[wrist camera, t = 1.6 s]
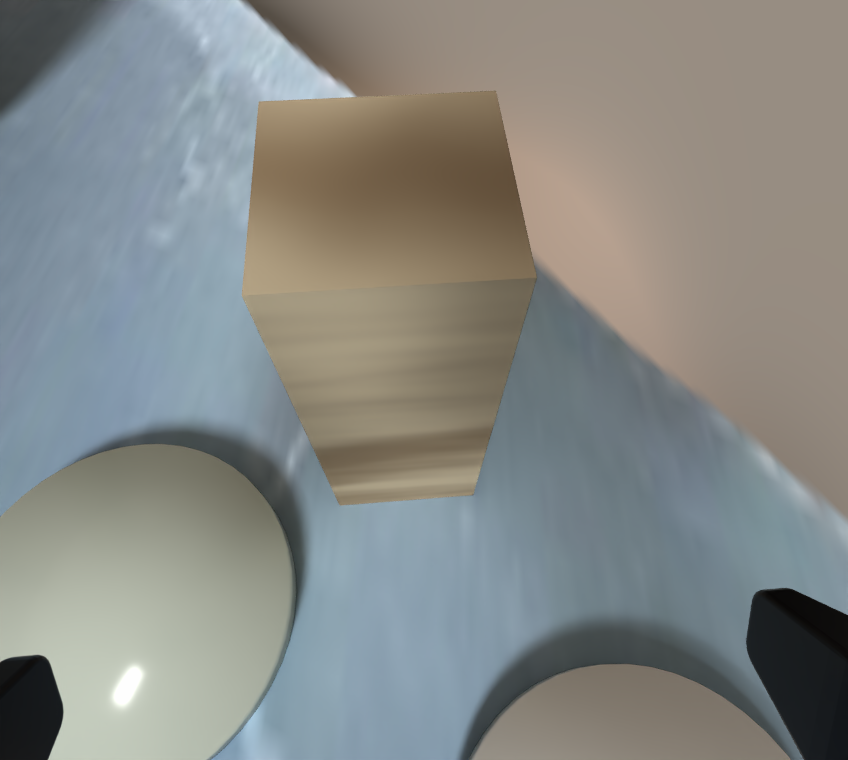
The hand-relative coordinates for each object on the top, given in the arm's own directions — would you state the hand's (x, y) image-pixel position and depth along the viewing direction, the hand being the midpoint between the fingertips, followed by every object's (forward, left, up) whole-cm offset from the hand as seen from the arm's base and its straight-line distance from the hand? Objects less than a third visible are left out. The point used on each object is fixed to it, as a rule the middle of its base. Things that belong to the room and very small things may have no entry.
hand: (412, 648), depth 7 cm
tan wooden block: (+7, -4, -13) cm, 15 cm away
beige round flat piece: (+7, +7, -13) cm, 16 cm away
